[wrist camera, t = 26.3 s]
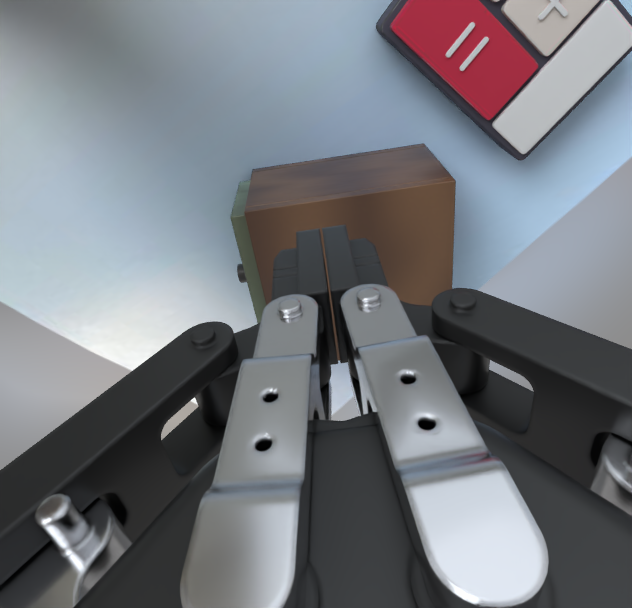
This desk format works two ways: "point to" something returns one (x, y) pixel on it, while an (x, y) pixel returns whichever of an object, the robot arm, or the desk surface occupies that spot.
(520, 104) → the calculator
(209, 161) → the desk surface
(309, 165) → the cabinet
